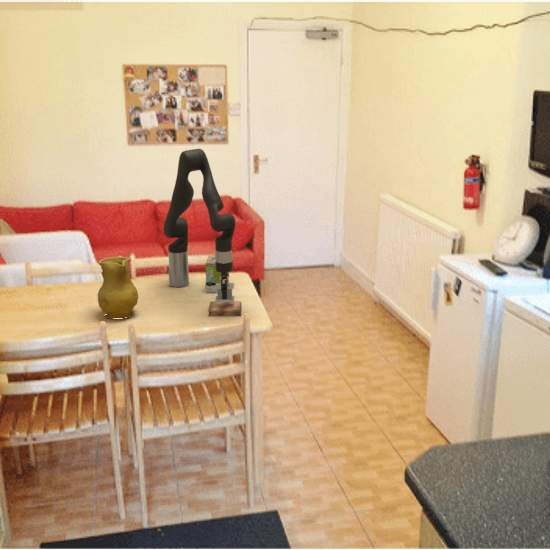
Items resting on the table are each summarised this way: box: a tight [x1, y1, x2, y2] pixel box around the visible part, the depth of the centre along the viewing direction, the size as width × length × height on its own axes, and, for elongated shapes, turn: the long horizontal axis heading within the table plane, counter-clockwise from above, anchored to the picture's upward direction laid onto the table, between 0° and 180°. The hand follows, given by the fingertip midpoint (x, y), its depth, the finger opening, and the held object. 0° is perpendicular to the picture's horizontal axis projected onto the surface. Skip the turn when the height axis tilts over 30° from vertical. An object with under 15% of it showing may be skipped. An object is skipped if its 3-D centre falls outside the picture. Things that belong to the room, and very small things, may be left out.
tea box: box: [205, 254, 230, 293], centre depth 326 cm, size 15×10×15 cm, turn 179°
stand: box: [208, 300, 242, 317], centre depth 299 cm, size 14×12×2 cm
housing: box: [215, 282, 235, 302], centre depth 296 cm, size 5×8×7 cm, turn 91°
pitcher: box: [97, 256, 139, 319], centre depth 292 cm, size 17×19×25 cm
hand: (224, 296), depth 297 cm, fingers closed on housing, 5 cm apart
